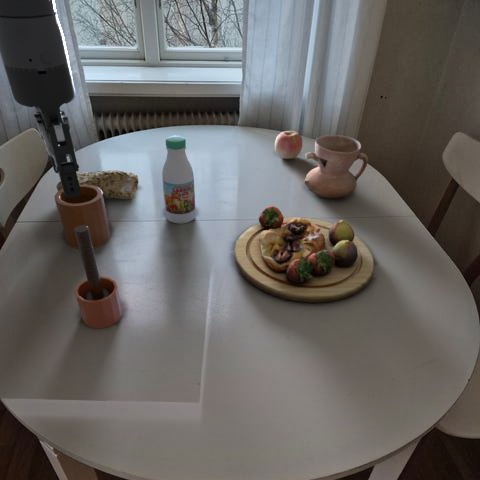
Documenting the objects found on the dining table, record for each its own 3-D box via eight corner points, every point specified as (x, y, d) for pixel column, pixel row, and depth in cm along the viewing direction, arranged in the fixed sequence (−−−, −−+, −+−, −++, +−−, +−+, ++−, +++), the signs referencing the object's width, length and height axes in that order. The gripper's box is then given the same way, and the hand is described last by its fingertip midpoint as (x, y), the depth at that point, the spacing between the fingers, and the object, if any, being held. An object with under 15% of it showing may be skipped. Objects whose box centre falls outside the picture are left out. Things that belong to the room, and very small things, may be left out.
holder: (78, 330, 80) (69, 301, 76) (89, 303, 86) (81, 275, 81) (118, 331, 81) (112, 302, 76) (126, 304, 86) (120, 276, 81)
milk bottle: (159, 216, 112) (151, 138, 98) (182, 206, 116) (177, 130, 102) (178, 227, 108) (172, 148, 94) (201, 217, 112) (199, 139, 98)
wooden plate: (216, 234, 106) (216, 204, 101) (330, 216, 115) (336, 187, 109) (263, 319, 84) (266, 286, 79) (400, 289, 93) (412, 257, 87)
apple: (304, 161, 140) (307, 136, 135) (278, 163, 139) (280, 138, 133) (294, 151, 147) (297, 126, 141) (270, 152, 145) (272, 128, 139)
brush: (89, 321, 81) (65, 234, 68) (94, 307, 84) (72, 221, 71) (110, 322, 81) (90, 235, 68) (115, 308, 84) (96, 222, 71)
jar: (60, 248, 100) (48, 205, 92) (73, 225, 107) (62, 183, 100) (105, 249, 100) (95, 206, 92) (114, 226, 107) (106, 185, 100)
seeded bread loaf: (139, 190, 124) (68, 174, 121) (140, 168, 118) (65, 150, 115) (129, 221, 116) (53, 204, 113) (130, 198, 110) (49, 179, 107)
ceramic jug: (304, 203, 119) (312, 153, 110) (296, 180, 130) (302, 132, 120) (367, 203, 121) (380, 153, 111) (354, 180, 131) (365, 133, 121)
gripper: (-3, 47, 56) (33, 168, 67) (8, 75, 46) (48, 210, 58) (57, 43, 58) (83, 161, 69) (79, 69, 49) (105, 200, 60)
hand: (67, 183), depth 63 cm, fingers open, 8 cm apart
